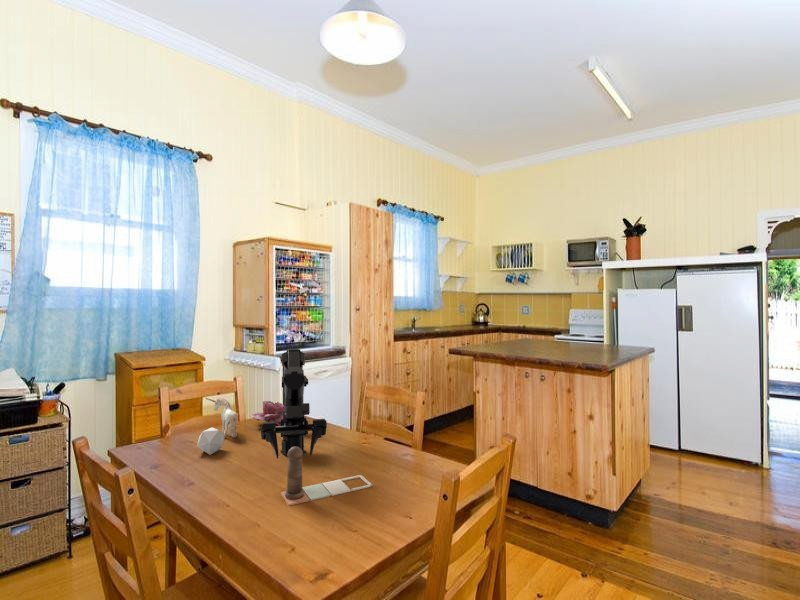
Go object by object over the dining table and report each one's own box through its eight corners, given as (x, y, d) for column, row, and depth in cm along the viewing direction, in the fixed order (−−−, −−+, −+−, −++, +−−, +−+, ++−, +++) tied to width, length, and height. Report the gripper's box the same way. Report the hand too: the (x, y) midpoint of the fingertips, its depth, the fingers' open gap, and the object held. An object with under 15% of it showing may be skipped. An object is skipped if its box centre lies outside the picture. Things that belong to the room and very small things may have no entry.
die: (228, 454, 148) (230, 426, 154) (211, 448, 142) (213, 420, 147) (209, 460, 150) (211, 433, 156) (190, 455, 143) (193, 427, 149)
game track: (360, 476, 129) (360, 474, 129) (372, 486, 122) (372, 485, 122) (280, 493, 117) (280, 491, 117) (288, 505, 110) (288, 504, 110)
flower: (252, 424, 170) (259, 399, 172) (249, 420, 183) (256, 397, 186) (289, 431, 175) (295, 407, 177) (283, 426, 188) (289, 404, 191)
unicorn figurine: (222, 427, 176) (222, 394, 176) (249, 437, 164) (249, 402, 164) (204, 431, 171) (204, 397, 171) (231, 442, 159) (231, 405, 158)
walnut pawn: (303, 490, 118) (303, 443, 118) (304, 498, 114) (304, 449, 114) (285, 492, 117) (285, 444, 117) (285, 500, 112) (285, 450, 112)
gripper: (261, 395, 126) (258, 445, 115) (326, 392, 130) (329, 440, 120) (262, 414, 134) (260, 464, 123) (324, 411, 138) (326, 458, 128)
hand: (294, 456), depth 123 cm, fingers open, 9 cm apart
